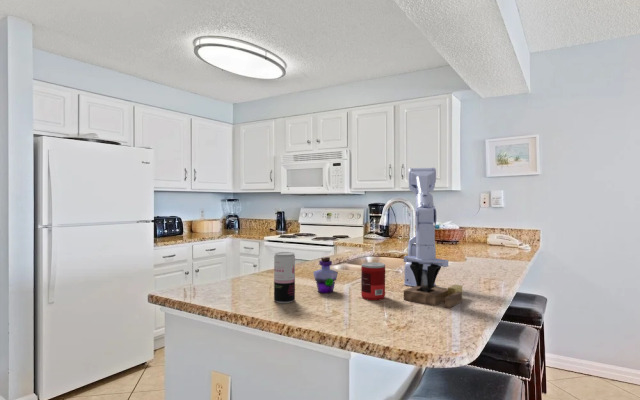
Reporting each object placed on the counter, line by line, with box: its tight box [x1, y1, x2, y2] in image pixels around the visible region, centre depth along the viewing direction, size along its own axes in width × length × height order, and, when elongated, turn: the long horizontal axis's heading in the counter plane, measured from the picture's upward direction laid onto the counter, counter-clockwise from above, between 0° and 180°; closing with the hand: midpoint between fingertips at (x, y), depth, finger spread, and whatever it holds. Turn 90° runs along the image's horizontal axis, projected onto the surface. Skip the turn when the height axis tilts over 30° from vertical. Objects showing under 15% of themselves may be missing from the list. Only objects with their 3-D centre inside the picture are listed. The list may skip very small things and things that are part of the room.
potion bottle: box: [312, 256, 338, 295], centre depth 137 cm, size 9×9×12 cm
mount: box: [403, 286, 463, 309], centre depth 125 cm, size 15×10×3 cm, turn 50°
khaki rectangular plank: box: [447, 284, 463, 296], centre depth 128 cm, size 2×6×4 cm, turn 140°
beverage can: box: [273, 251, 296, 304], centre depth 125 cm, size 6×6×15 cm
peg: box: [420, 269, 432, 293], centre depth 127 cm, size 4×4×8 cm
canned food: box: [360, 261, 386, 301], centre depth 129 cm, size 8×8×11 cm
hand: (425, 286), depth 127 cm, fingers closed on peg, 4 cm apart
